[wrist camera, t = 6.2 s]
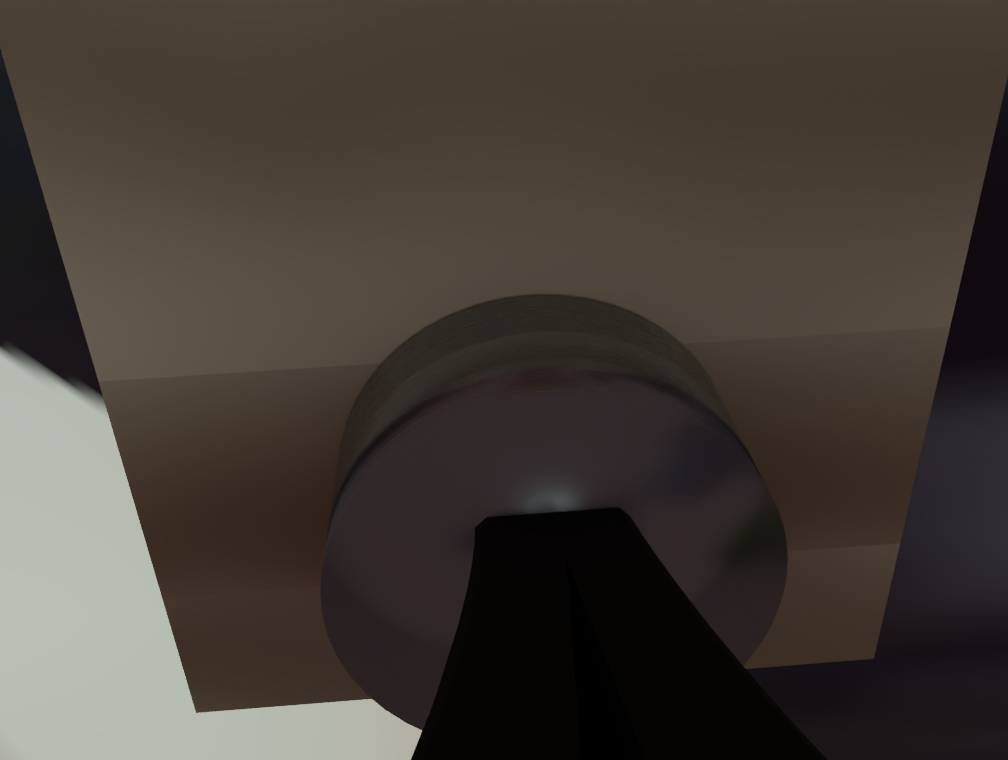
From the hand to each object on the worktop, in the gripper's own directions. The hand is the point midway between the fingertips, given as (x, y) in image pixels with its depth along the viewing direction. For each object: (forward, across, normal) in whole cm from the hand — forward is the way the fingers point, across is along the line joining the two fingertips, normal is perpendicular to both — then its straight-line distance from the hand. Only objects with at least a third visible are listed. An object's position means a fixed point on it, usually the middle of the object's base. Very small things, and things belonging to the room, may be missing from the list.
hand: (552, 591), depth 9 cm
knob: (+4, 0, 0) cm, 4 cm away
